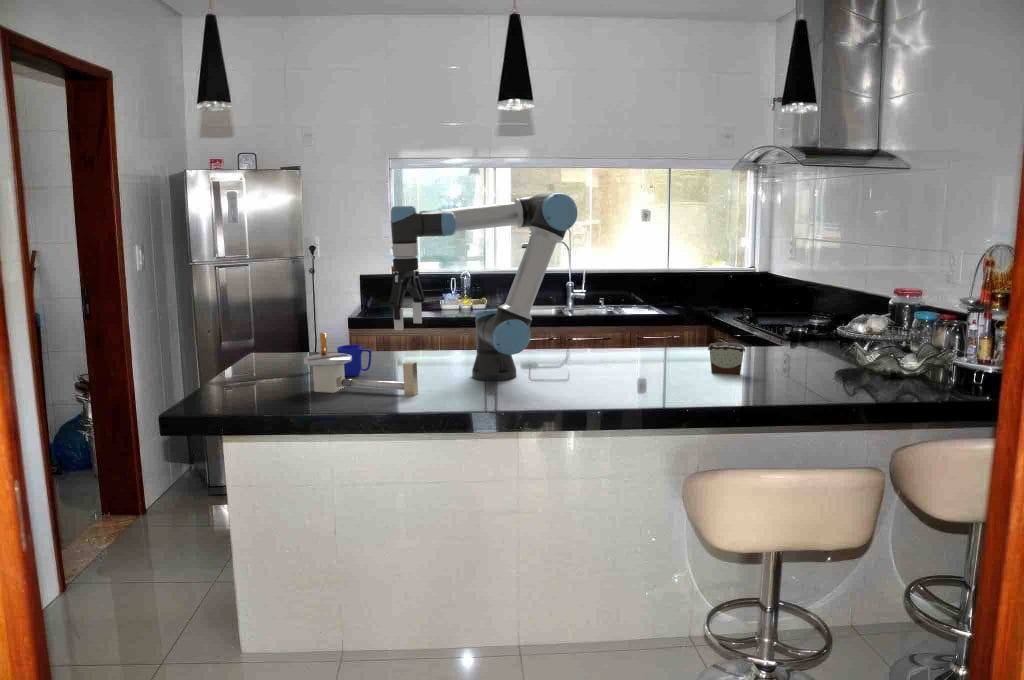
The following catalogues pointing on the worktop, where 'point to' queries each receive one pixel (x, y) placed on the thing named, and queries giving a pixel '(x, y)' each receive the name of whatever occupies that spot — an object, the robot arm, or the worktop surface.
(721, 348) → the food container
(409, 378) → the hook rod
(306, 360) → the handwheel
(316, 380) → the eye block
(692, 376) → the worktop surface
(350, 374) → the mug
